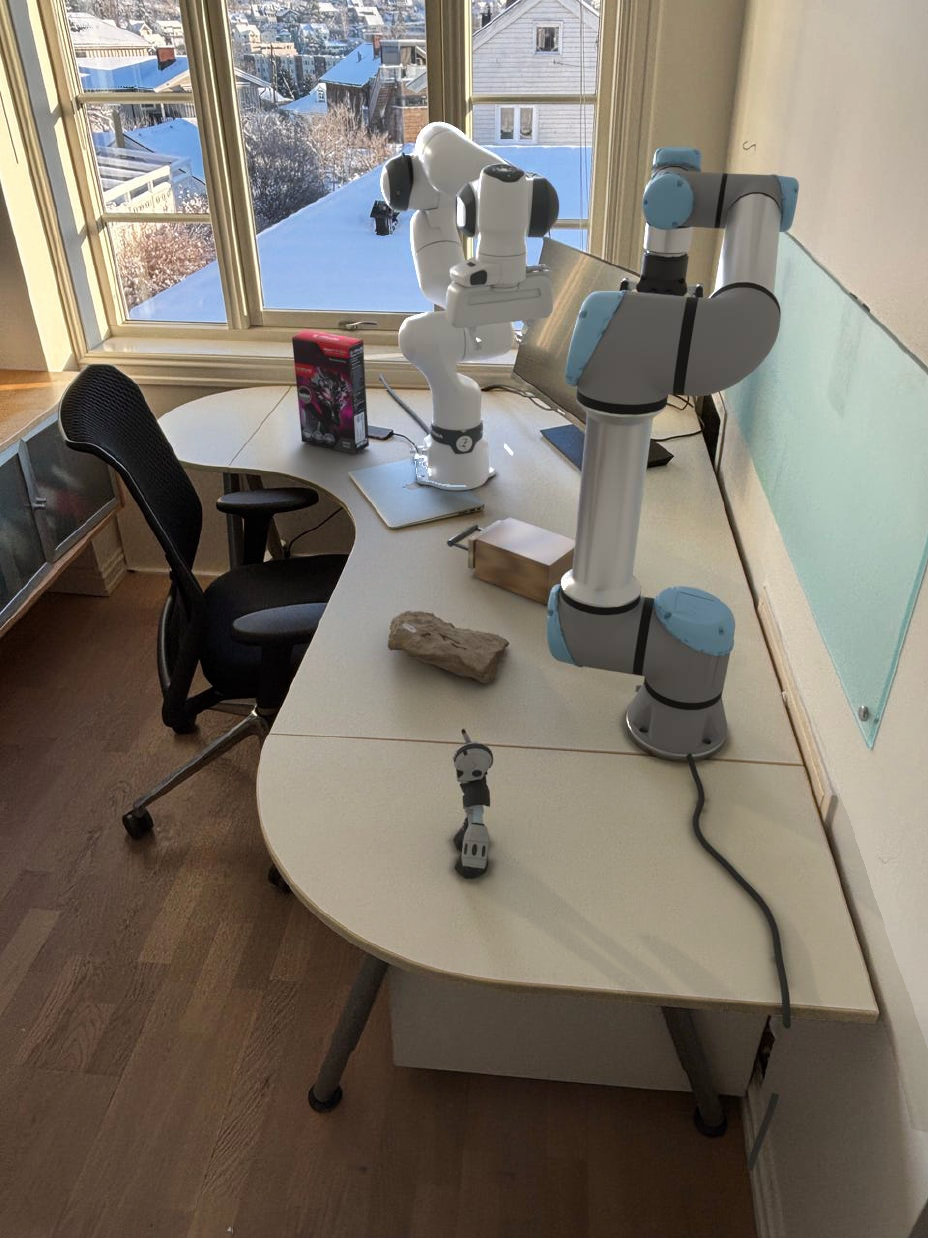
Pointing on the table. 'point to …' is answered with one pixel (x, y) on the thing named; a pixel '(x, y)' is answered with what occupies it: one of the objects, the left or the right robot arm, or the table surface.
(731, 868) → the right robot arm
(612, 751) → the table surface
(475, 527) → the drawer
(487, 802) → the robot
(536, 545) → the cabinet
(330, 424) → the graphics card box
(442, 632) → the stone
